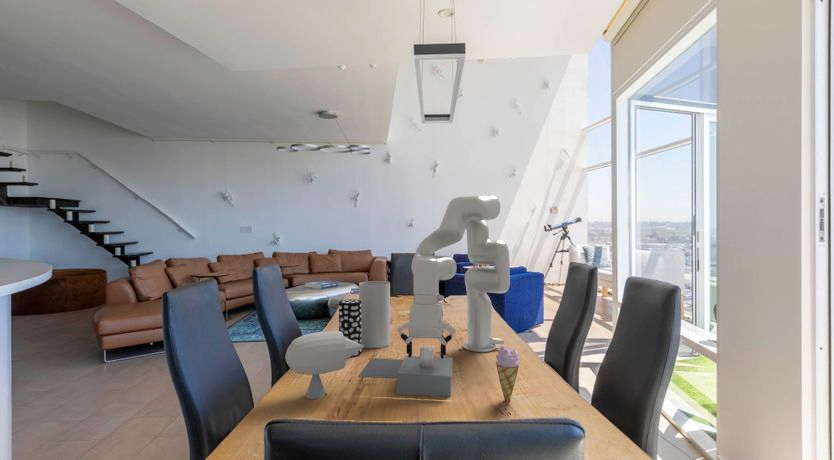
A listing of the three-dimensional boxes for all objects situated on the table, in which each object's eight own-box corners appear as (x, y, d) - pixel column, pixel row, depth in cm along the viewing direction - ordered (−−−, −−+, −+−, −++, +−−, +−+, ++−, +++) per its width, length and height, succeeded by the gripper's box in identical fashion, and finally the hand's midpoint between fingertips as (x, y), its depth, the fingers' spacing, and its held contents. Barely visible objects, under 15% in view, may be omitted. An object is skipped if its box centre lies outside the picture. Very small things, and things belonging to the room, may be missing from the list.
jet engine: (353, 406, 105) (352, 340, 105) (279, 404, 107) (279, 338, 107) (365, 384, 120) (365, 326, 120) (300, 382, 122) (300, 325, 122)
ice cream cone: (492, 395, 112) (492, 342, 112) (514, 394, 113) (514, 341, 113) (499, 405, 106) (499, 349, 105) (522, 404, 106) (522, 348, 106)
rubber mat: (421, 361, 141) (421, 360, 141) (414, 380, 123) (414, 379, 123) (371, 359, 143) (371, 358, 143) (357, 377, 126) (357, 376, 126)
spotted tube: (357, 359, 144) (356, 303, 144) (335, 357, 145) (335, 303, 145) (364, 352, 152) (364, 299, 152) (344, 351, 153) (343, 299, 153)
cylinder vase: (396, 343, 164) (396, 282, 164) (377, 351, 153) (377, 286, 153) (372, 339, 170) (372, 280, 170) (352, 346, 160) (352, 283, 160)
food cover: (452, 377, 125) (452, 342, 125) (450, 397, 111) (451, 358, 110) (405, 374, 127) (405, 340, 127) (397, 394, 112) (397, 355, 112)
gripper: (455, 297, 122) (455, 353, 122) (399, 296, 124) (399, 351, 124) (454, 302, 114) (455, 362, 114) (395, 300, 116) (395, 359, 116)
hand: (426, 356), depth 119 cm, fingers open, 9 cm apart
